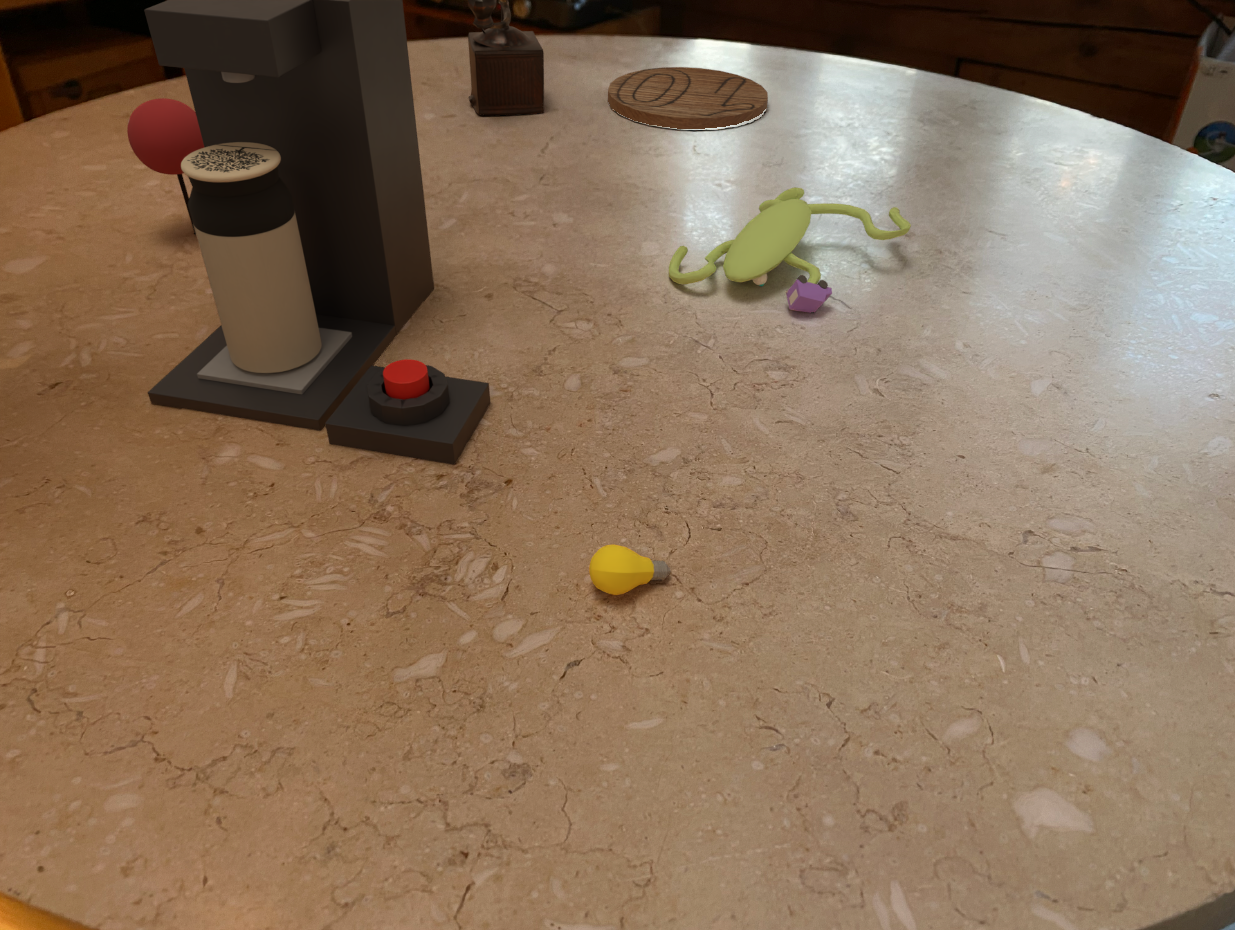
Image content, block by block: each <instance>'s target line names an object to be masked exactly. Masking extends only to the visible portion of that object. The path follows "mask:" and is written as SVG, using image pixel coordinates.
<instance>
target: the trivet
mask: <svg viewBox="0 0 1235 930" xmlns="http://www.w3.org/2000/svg"><path fill="white" fill-rule="evenodd" d="M608 102H609V104H610V106H609V108H610V107H611V108H612V109H614V110H615V111H616V112H618V113H619V114H621V115H623V116H625V117H627V118H630V119H632V120H634V121H638V122H642V123H646V124H649V125H657V126H662V127H670V128H677V129H705V128H717V127H726V126H730V125H737V124H739V123H742V122H744V121H749V120H751V119H753V118H755V117H757V116H759V115H760V114H762V113H763V111H764V110H765V109H766V108H768V102H769V94H768V90H766V88H764V87H763V85H762V84H760V83H758V82H757V81H754V80H753V79H751V78H748V77H745V76H742V75H740V74H736V73H732V72H727V71H724V70H719V69H710V68H704V67H688V66H667V67H666V66H665V67H664V66H663V67H655V68H645V69H641V70H636V71H631V72H627V73H625V74H623V75H620V76H618V77H616V78H615V79H614V80H613V81H611V82H610V83H609V85H608V89H607V103H608ZM609 104H608V105H609ZM611 108H610V109H611Z"/></svg>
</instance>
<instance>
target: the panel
mask: <svg viewBox="0 0 1235 930" xmlns="http://www.w3.org/2000/svg"><path fill="white" fill-rule="evenodd" d="M425 365H426V367H427V370H428V378H429V390H428V392H427V393H425V394H423V395H421V396H419V397H417V398H411V399H404V400H403V399H397V398H391V397H389V396H388V395H387V393H386V390H385V384H384V377H383V371H384V369H385V367H386V366H378V365H373V366H372V365H371V366H370V368H369V369H368V370H367V371H366V373H365V374H364V375H363V376H362V378H361V379H360V380H359V381H358V383H357V384H356V385H355V386H354V388H353V389H352V390H351V391H350V393H349V394H348V395H347V396H346V398H345V399H344V400H343V401H342V403H341V404H340V405H339V406H338V408H337V409H336V410H335V412H334V413H333V414H332V415H331V417H330V418H329V419H328V420H327V422H326V423H325V430H326V434H327V439H328V444H329V445H332V446H339V447H344V448H351V449H357V450H362V451H369V452H375V453H381V454H386V455H392V456H393V455H394V456H400V457H405V458H411V459H412V458H413V459H417V460H424V461H429V462H436V463H443V464H446V465H447V464H448V465H453V466H455V465H456V463H457V462H458V460H459V458H460V457H461V455H462V454H463V451H464V450H465V448H466V446H467V445H468V443H469V442H470V440H471V438H472V436H473V435H474V433H475V431H476V429H477V427H478V425H479V424H480V422H481V420H482V419H483V417H484V416H485V413H486V412H487V410H488V408H489V407H490V406H491V394H490V392H491V391H490V382H485V381H479V380H473V379H472V380H471V379H466V378H458V377H451V376H446V374H445V373H444V372H442V371H441V370H439V369H438V368H436V367H434V366H433V365H429V364H425Z"/></svg>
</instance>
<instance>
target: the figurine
mask: <svg viewBox="0 0 1235 930" xmlns="http://www.w3.org/2000/svg"><path fill="white" fill-rule="evenodd" d="M804 195H805V189H803V188H802V187H795V186H794V187H791V188H788V189H786V190H784V191H782V192H781V193H779V194H778V195H777V196H776V197H775V198H774V199H767V200H764V201H763V202H762V203H760V205H759V206H758V210H759V213H758V214H757V215H755V216H754V217H753V218H752V219H751V220H750V221H748V222H747V224H746V225H745V226H744V227H743V228H742V230H740V231H739V233H738V234H737V235H736V237H735V238H733V239H730V240H726V241H724V242H722V243H720V244H719V245H717V246H716V247H715V248H713V249H712V250H711V251H710V252H709V253H708V254H707V255H706V256H705V257H704V260H705V261H706V262H707V263H706V264H705V265H704V266H703V267H701V268H699V269H697V270H695V271H690V272H685V273H683V272H681V271H679V269H680V265H681V264H682V261H683V260H684V259H685V257H686V256H687V254H688V252H689V250H688V247H687V246H685V245H680V246H679V247H678V248H677V249H676V251H675V252H674V253H673V255H672V257H671V259H670V261H669V265H668V277H669V279H671V280H672V282H674V283H676V284H678V285H682V286H683V285H690V284H694V283H699V282H702V281H704V280H706V279H708V278H709V277H711V276H712V275H714V273H716V271H717V267H716V264H715V262H717V261H718V259H720V258H721V257H723V256H724V261H723V265H722V270H723V272H724V274H725V277H726V279H728V280H729V281H730V282H731V281H732V282H735V283H745V282H748V281H752V282H753V283H754V284H755V285H756V286H759V287H763V286H764V285H765V284H766V282H767V280H768V273H769V272H770V271H772V270H774V269H776V268H777V267H779V265H780V264H781V263H782V262H785V264H787V265H788V266H790V267H793V268H796V269H799V270H801V271H804V272H807V273H808V276H809V278H807V276H805V275H804V274H800V275H798V277H796V280H795V281H794V282H793V283H792V285H790V287H789V288H788V289H787V290H785V292H784V293H785V295H786V299H787V304H788V309H789V310H792V311H797V312H805V313H810V314H812V313H811V312H814V313H815V312H816V311H818V310H819V309H820V307H822V305H823V304H824V303H825V302H826V301H827V300H828V299H829V298H830V297H831V295H832V294H833V290H832V287H829V285H828V282H827V281H826V280H824V279H821V278H822V273H821V270H820V268H819V267H818V266H816V265H814V264H813V263H811V262H808V261H806V260H804V259H802V258H800V257H797V256H796V255H795V254H794V253H793V251H794V249H796V247H797V246H798V244H799V243H800V242H801V241H802V239H803V238H804V236H805V234H806V232H807V230H808V228H809V226H810V224H811V218H812V215H843V216H848V217H851V218H855V219H858V220H860V221H861V222H862V225H863V228H864V231H865V233H866V234H867V236H868V237H869V238H871V239H873V240H878V241H888V240H892V239H896V238H899V237H902V236H904V235H907V234H908V232H910V229H911V226H912V225H911V224H912V223H910V222H909V221H908V220H907V219H905V218H904V217H903V216H902V215H901V211H900V209H899V208H898V207H896V206H893V207H891V208H890V209H889V211H888V217H889V219H890V220H891V221H892V222H893V223H894V225H896V226H897V227H898V228H899V229H897V230H885V229H880V228H878V227H876V226H875V224H874V222H873V220H872V216H871V214H870V212H868V210H866V209H865V208H861V207H858V206H854V205H852V204H845V203H832V202H831V203H830V202H829V203H828V202H827V203H808V202H807V201H806V200H803V199H801V198H803V197H804Z"/></svg>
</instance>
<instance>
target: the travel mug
mask: <svg viewBox="0 0 1235 930" xmlns="http://www.w3.org/2000/svg"><path fill="white" fill-rule="evenodd" d="M280 160H281V157H280V154H279V152H278V151H277V150H275V149H274V148H272V147H270V146H267V145H264V144H259V143H250V142H234V143H223V144H217V145H212V146H208V147H205V148H202V149H199V150H196V151H194V152H192V153H190V154H189V155H187V156H186V157H185V158H184V159H183V160H182V162H181V169H182V171H183V172H184V173H183V174H184V175H186V176H187V178H188V180H189V183H190V185H191V191H190V193H189V201H188V207H189V210H190V214H191V218H192V221H193V225H194V228H195V232H196V235H195V236H196V239H197V243H198V247H199V250H200V253H201V257H202V261H203V264H204V268H205V272H206V276H207V279H208V282H209V285H210V289H211V293H212V296H213V300H214V303H215V308H216V311H217V314H218V318H219V322H220V326H222V329H223V333H224V336H225V340H226V344H227V347H228V351H229V354H230V358H231V360H232V362H233V363H234V364H235V365H236V366H237V367H239V368H241V369H243V370H246V371H250V372H256V373H275V372H283V371H288V370H291V369H294V368H296V367H299V366H301V365H303V364H305V363H307V362H309V361H310V360H312V359H313V358H314V357H315V356H316V355H317V354H318V353H319V351H320V349H321V346H322V343H321V338H320V333H319V328H318V323H317V318H316V313H315V308H314V303H313V298H312V293H311V288H310V284H309V279H308V274H307V269H306V264H305V259H304V254H303V249H302V244H301V239H300V234H299V230H298V225H297V220H296V215H295V210H294V205H293V200H292V195H291V191H290V190H289V188H288V187H287V186H286V185H285V183H284V182H283V181H282V180H281V178H280V177H279V171H278V165H279V163H280Z"/></svg>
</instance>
